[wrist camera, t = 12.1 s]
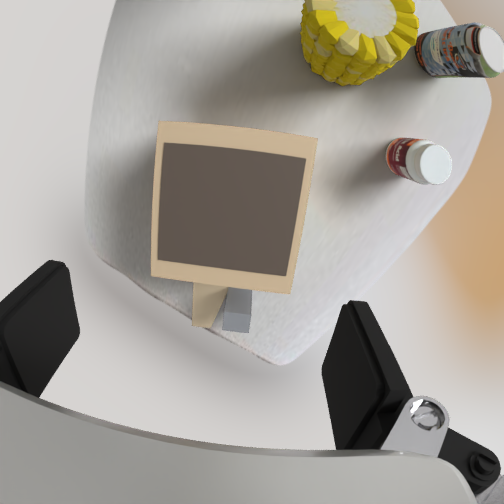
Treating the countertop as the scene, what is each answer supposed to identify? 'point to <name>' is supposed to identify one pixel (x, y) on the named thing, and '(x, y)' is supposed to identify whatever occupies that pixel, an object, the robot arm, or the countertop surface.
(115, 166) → the countertop surface
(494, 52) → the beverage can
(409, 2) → the food
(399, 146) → the pill bottle
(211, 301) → the flap
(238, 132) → the carton
